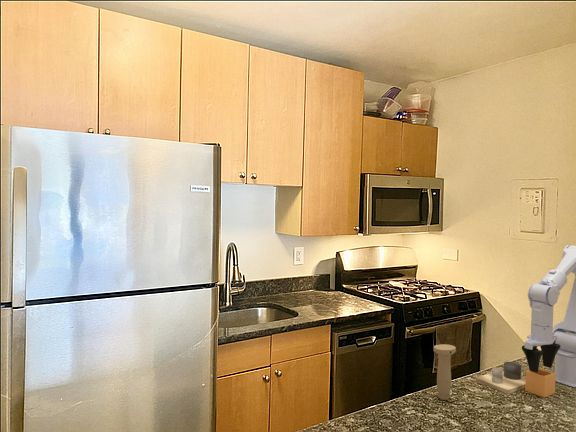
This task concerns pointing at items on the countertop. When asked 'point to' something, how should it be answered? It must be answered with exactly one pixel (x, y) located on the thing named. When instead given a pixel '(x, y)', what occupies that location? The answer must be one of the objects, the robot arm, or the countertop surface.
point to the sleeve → (540, 382)
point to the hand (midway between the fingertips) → (540, 369)
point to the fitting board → (504, 378)
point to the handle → (444, 369)
